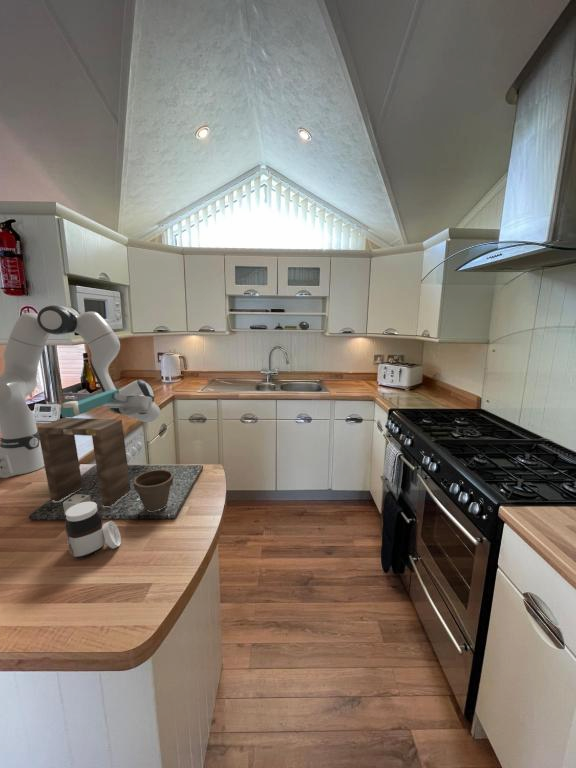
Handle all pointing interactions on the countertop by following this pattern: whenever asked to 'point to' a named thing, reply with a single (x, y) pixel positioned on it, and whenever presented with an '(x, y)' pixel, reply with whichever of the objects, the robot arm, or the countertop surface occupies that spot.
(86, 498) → the ivory die
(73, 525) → the spread jar
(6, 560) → the countertop surface
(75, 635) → the countertop surface
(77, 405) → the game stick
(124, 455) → the walnut shelf
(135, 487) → the flower pot
